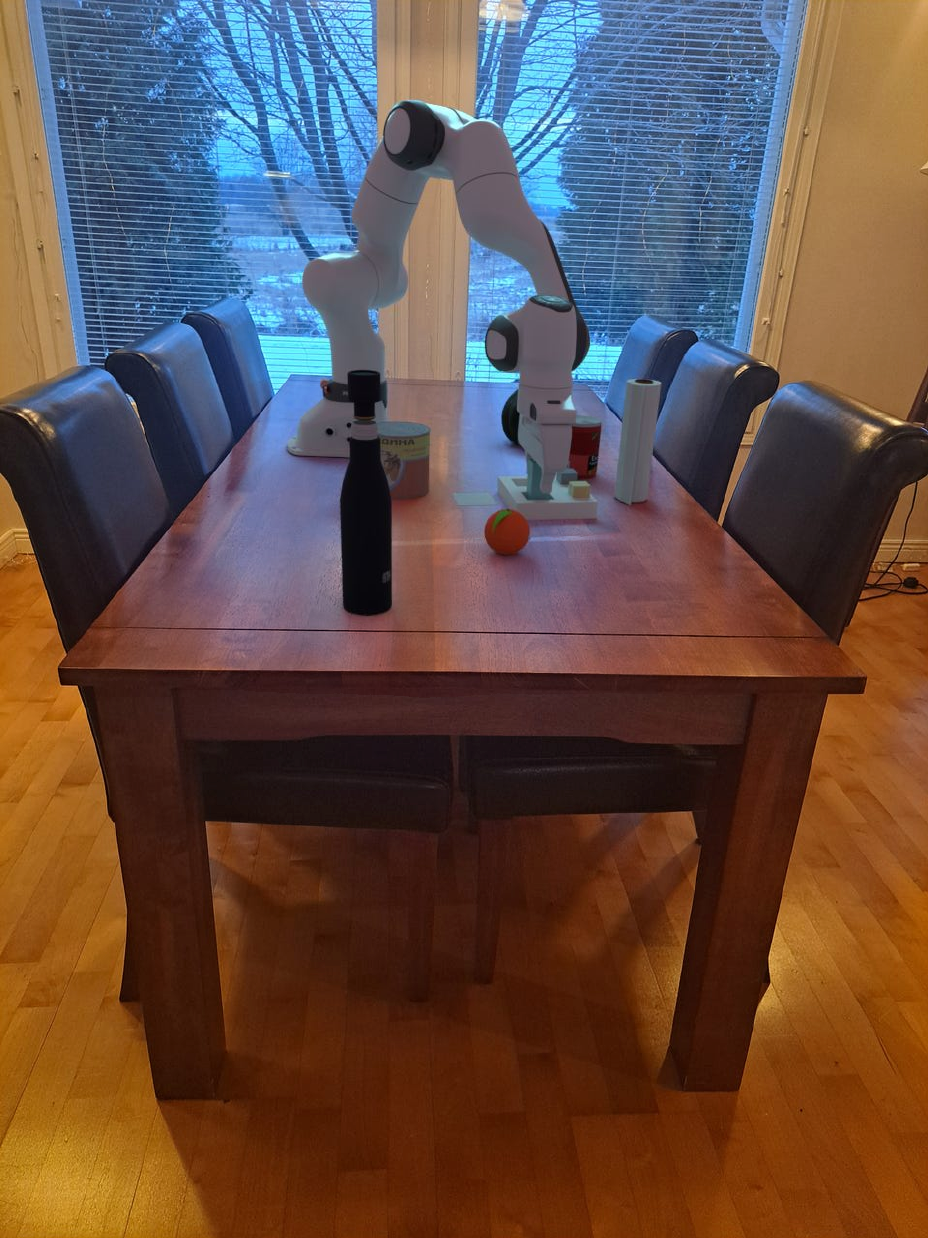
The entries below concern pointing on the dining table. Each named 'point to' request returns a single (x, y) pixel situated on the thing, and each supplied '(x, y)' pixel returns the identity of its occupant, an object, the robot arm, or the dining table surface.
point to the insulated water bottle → (365, 506)
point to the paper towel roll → (637, 440)
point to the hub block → (550, 498)
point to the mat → (473, 499)
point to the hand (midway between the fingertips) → (538, 483)
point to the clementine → (507, 532)
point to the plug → (534, 482)
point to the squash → (511, 418)
